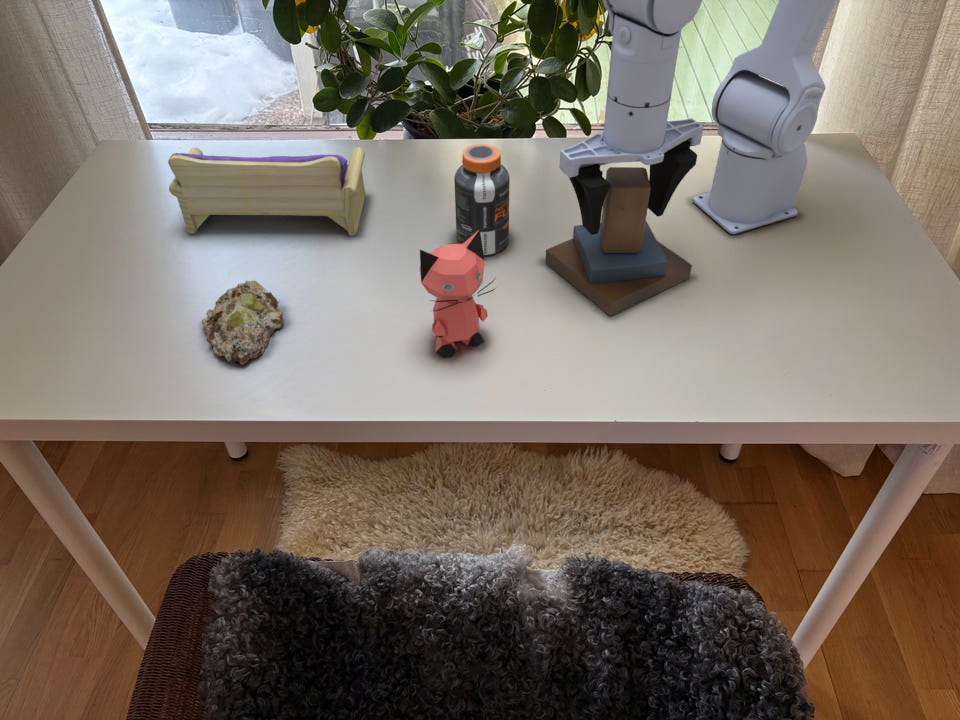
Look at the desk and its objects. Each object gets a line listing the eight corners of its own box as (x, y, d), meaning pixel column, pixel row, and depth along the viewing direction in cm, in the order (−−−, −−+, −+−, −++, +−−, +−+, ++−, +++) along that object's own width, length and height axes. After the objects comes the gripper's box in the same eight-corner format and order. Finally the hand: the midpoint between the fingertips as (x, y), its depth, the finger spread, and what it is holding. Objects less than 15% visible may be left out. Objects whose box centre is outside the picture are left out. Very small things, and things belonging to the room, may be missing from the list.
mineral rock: (198, 284, 80) (269, 260, 79) (220, 313, 83) (289, 290, 82) (185, 358, 72) (264, 333, 72) (210, 387, 76) (286, 363, 75)
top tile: (643, 232, 86) (645, 218, 85) (665, 276, 80) (668, 262, 79) (572, 239, 85) (573, 225, 84) (590, 284, 80) (591, 270, 78)
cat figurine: (439, 373, 73) (431, 272, 65) (408, 331, 78) (397, 231, 69) (504, 347, 76) (504, 247, 67) (470, 308, 80) (467, 209, 72)
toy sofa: (371, 196, 96) (361, 118, 88) (362, 237, 89) (350, 157, 82) (204, 196, 96) (180, 119, 89) (183, 237, 90) (155, 158, 83)
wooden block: (602, 254, 80) (609, 187, 75) (599, 232, 83) (606, 165, 77) (641, 254, 80) (651, 187, 74) (637, 232, 83) (647, 165, 77)
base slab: (621, 229, 89) (623, 216, 88) (689, 278, 83) (692, 264, 82) (545, 262, 85) (545, 249, 84) (610, 316, 79) (611, 303, 77)
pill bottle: (503, 259, 86) (504, 169, 78) (451, 254, 87) (446, 164, 79) (513, 229, 90) (514, 140, 82) (463, 224, 91) (459, 135, 83)
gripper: (590, 129, 65) (579, 259, 75) (732, 95, 69) (705, 223, 79) (551, 95, 70) (546, 221, 80) (687, 65, 74) (666, 189, 83)
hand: (622, 220), depth 79 cm, fingers open, 7 cm apart
